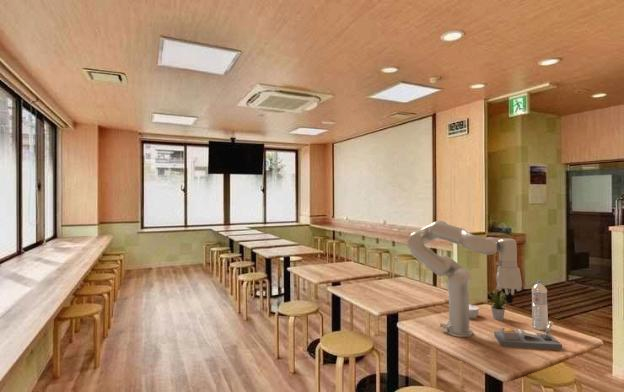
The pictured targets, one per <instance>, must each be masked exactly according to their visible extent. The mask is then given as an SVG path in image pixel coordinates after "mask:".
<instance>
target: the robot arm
mask: <svg viewBox="0 0 624 392" xmlns="http://www.w3.org/2000/svg"><path fill="white" fill-rule="evenodd" d="M437 239H440V240H443V241H446V242H450V243H453V244H456V245H458V246H461V247H463V248H465V249H468V250H470V251H473V252H476V253H479V254H482V255H487V256H489V255H491V256H492V255H494V254H495V253H498V261H495V265H497V268H496V279H495V281H496V287H495V288H496V289H495V290H496V291H499V292H502V291H503V293H505V294H504V297H505V299H504V301H505V302H507V303H506V304H513V301H514V295H515V293H517V292H520V291H522V286H523V283H522V274H521V270H520V268H519V267H518V251H517V241H516V240H515V239H514V238H508V237H507V238H506V237H505V238H500V237H493V236H488V237H486V238H484V237H481V236H477V235H475V234H472V233H470V232H468V230H466V229H465V228H462V227H459V226H455V225H451V224H448V223H447V222H446V221H444V220H436V221H433V222H432V223H430V224H429V225H427V226H425V227H422V228H420V229H418V230H415V231H413V232H411V233H410V234H409V235H408V237H407V249H408V251H409V252H410V254H411V256H413V257H414V258H415V259H417V260H418V261H419V262H420V263H422V264H423V265H424V266H425V267H426V268H428V270H430V271H432V272H433V274H435V275H437V276H439V277H443V276H446V277H447V291H448V292H447V293H448V313H449V314H448V316H449V318H448V319H449V321H447V322H446V323H439V327H440V328H442V329H443V330H446V333H447V334H449V335H451V336H452V337H453V336H454V337H456V338H469V337H472V336H473V333H474V331H473V330H472V329H471V328H470V318H469V304H470V303H469V302H470V300H469V287H468V286H469V285H470V282H471V279H472V277H471V273H470V272H469V271H468V269H466V268H464V266H462V265H460V263H458V262H457V261H455V260H454V259H453V258H451V257H450V256H447V255H438V254H437V253H435V251H433V250H431V249H430V248H429V247H427V246H425V245H426V244H428V243H430V242H433V241H435V240H437Z"/></svg>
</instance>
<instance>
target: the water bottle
mask: <svg viewBox="0 0 624 392" xmlns="http://www.w3.org/2000/svg"><path fill="white" fill-rule="evenodd" d="M531 300H532V301H531V315H532V316H531V318H532V321H531V322H532V324H531V325H532V328H534V330H538V331H546V330H547V327H548V325H549V324H548V322H549V321H548V319H549V317H548V312H549V311H548V289H547V288H546V286H545V285H544V284H542V281H541V280H536V283H535V284H534V285H533V286H532V287H531Z"/></svg>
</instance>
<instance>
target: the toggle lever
mask: <svg viewBox="0 0 624 392" xmlns="http://www.w3.org/2000/svg"><path fill="white" fill-rule="evenodd" d="M553 325H554V322H553V321H552V320H550V321H548V327H547V330H545V332H544V333H543V334H544V335H545V336H548V334H550V330H551V328H552V326H553Z"/></svg>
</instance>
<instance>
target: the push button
mask: <svg viewBox="0 0 624 392" xmlns="http://www.w3.org/2000/svg"><path fill="white" fill-rule="evenodd" d="M504 328H505V329H504V332H511V333H514V330H513V329H510V328H511V327H504Z"/></svg>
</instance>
